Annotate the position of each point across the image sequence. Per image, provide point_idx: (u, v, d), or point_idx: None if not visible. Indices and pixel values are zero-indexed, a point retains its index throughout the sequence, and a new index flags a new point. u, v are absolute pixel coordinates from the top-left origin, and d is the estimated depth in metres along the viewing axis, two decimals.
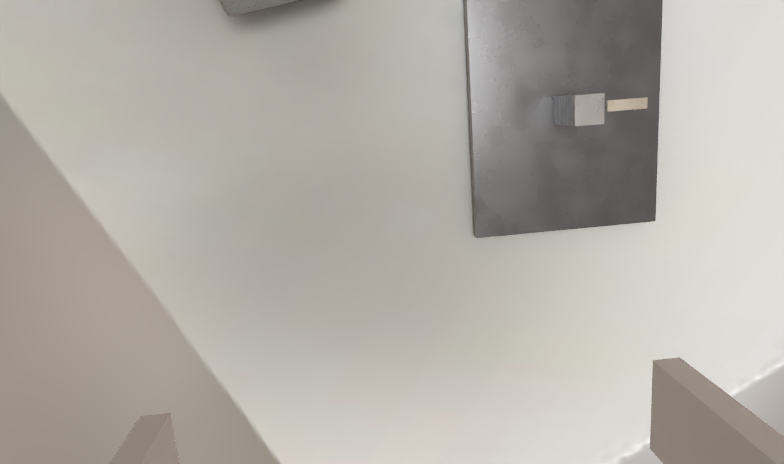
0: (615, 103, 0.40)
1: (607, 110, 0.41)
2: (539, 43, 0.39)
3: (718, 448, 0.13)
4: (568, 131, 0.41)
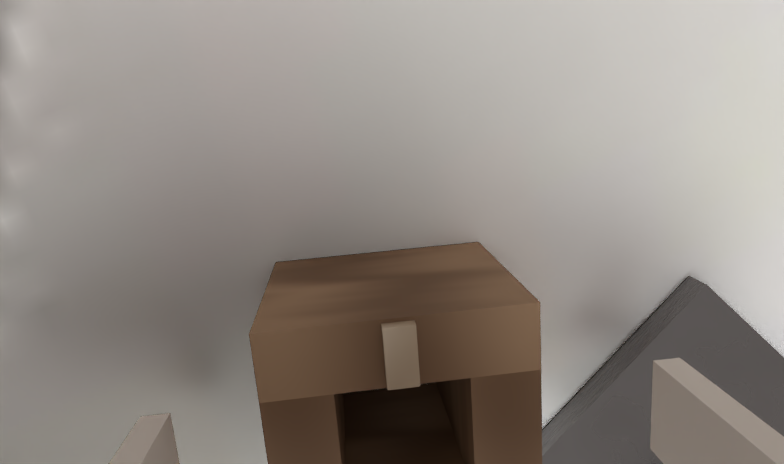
0: None
1: None
2: None
3: (718, 448, 0.13)
4: None
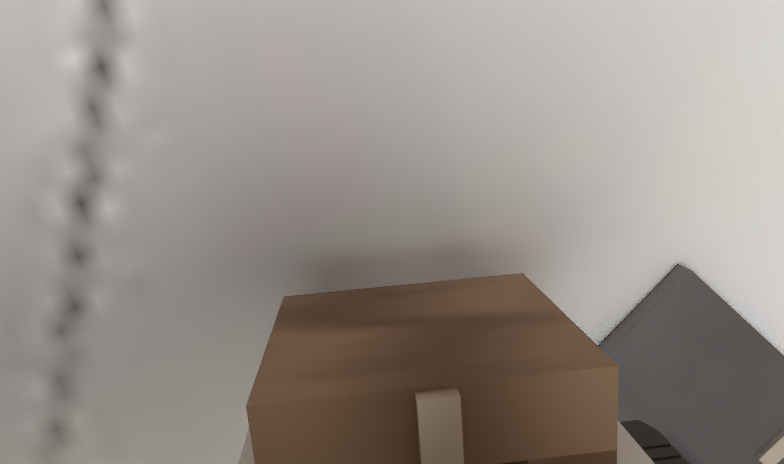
0: (772, 453, 0.24)
1: None
2: None
3: None
4: None
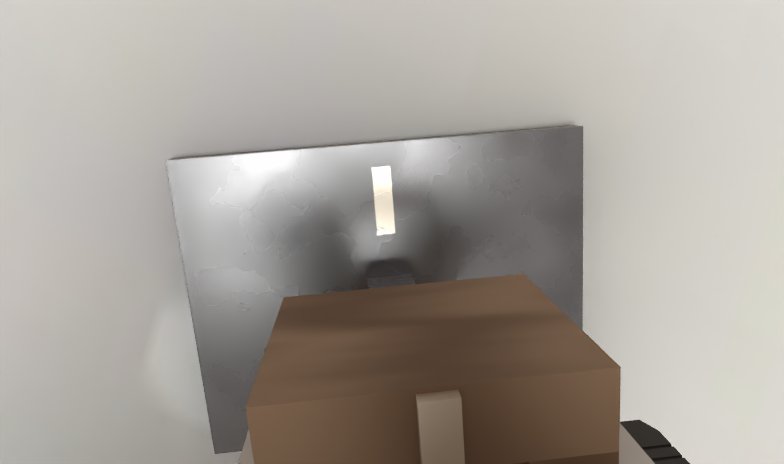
0: (382, 221, 0.24)
1: (394, 233, 0.25)
2: None
3: None
4: None
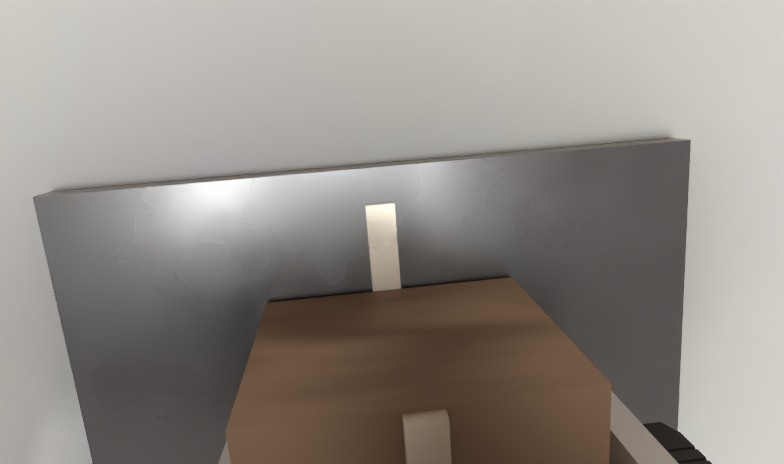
0: (381, 288, 0.16)
1: None
2: None
3: None
4: None
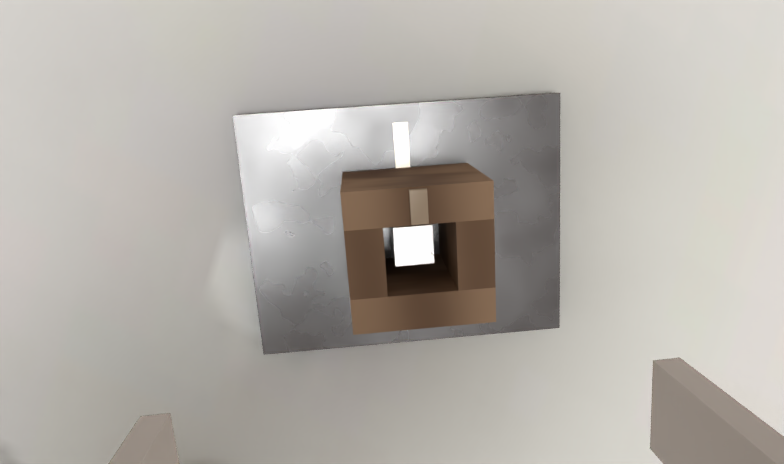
0: (400, 166, 0.31)
1: None
2: (327, 267, 0.32)
3: (717, 448, 0.13)
4: None
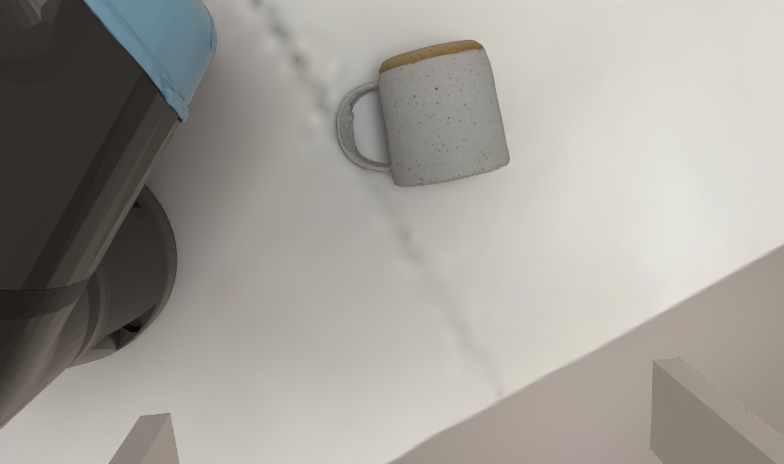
0: None
1: None
2: None
3: (718, 448, 0.13)
4: None
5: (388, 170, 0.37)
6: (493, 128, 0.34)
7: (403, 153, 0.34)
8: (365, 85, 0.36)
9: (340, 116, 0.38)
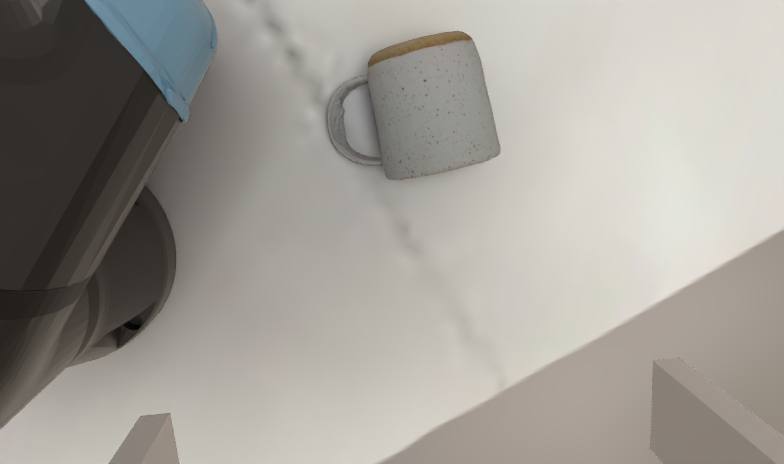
0: None
1: None
2: None
3: (717, 448, 0.13)
4: None
5: (379, 164, 0.37)
6: (483, 119, 0.33)
7: (393, 146, 0.34)
8: (354, 79, 0.36)
9: (330, 111, 0.38)
